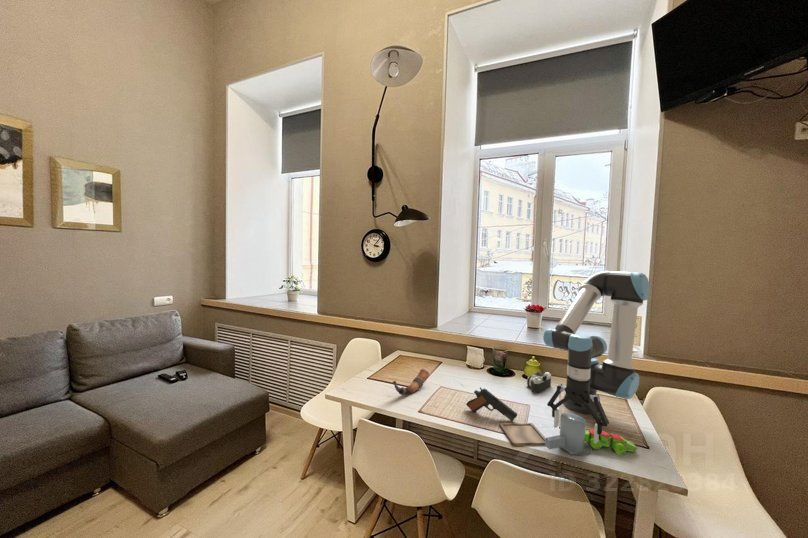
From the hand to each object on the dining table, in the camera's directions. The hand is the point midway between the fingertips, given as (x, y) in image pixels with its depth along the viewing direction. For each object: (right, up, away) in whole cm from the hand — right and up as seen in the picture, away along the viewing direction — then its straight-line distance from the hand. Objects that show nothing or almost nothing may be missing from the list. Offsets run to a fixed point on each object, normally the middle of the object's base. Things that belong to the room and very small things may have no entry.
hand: (575, 433), depth 117 cm
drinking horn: (-60, -2, +42) cm, 73 cm away
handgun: (-28, -6, +23) cm, 37 cm away
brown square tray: (-17, -4, +7) cm, 19 cm away
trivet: (0, -5, 0) cm, 5 cm away
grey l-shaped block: (-6, -4, -3) cm, 8 cm away
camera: (+8, -3, +52) cm, 53 cm away
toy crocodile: (+11, -5, 0) cm, 12 cm away
